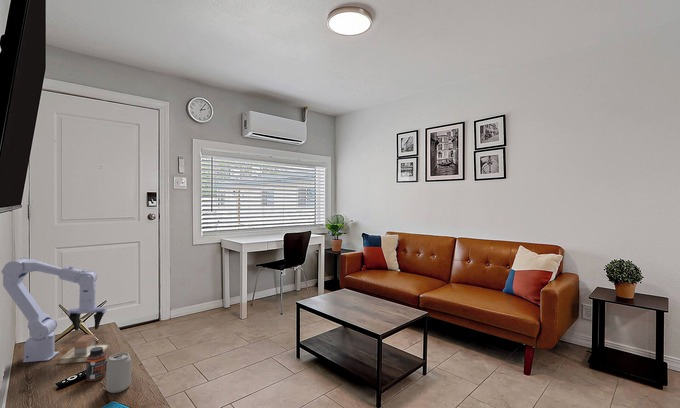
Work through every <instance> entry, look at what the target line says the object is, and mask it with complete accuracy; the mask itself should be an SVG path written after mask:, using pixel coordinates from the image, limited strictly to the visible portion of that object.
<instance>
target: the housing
mask: <svg viewBox="0 0 680 408" xmlns="http://www.w3.org/2000/svg"><path fill="white" fill-rule="evenodd" d="M95 345H96V334H83V335H82V336H80V337H79V338H78V339H77V340H76V341H75V342H74V346H75V351H74V356H85V355H88V354H89V353H90V350H91V349H92V348H95Z"/></svg>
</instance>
